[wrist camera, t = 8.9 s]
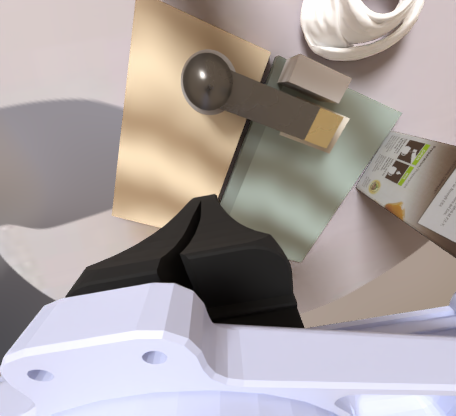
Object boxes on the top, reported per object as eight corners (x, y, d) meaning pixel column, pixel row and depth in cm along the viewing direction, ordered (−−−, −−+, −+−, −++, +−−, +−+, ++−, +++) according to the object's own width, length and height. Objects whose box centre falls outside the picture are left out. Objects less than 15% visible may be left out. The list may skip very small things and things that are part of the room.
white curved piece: (293, 69, 18) (310, 73, 14) (295, -48, 14) (321, -89, 10) (392, 52, 17) (439, 51, 14) (422, -76, 14) (501, -131, 10)
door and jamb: (298, 257, 27) (310, 281, 24) (115, 210, 23) (97, 232, 19) (393, 112, 19) (433, 117, 16) (141, -5, 15) (118, -34, 11)
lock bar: (183, 98, 17) (177, 100, 14) (194, 51, 15) (189, 43, 13) (311, 146, 19) (327, 155, 16) (331, 108, 18) (351, 112, 15)
